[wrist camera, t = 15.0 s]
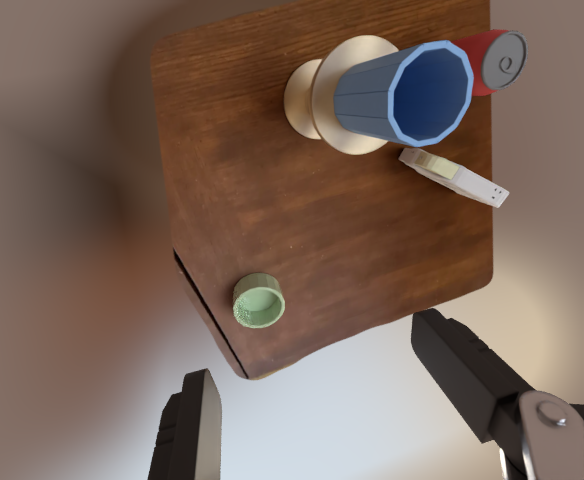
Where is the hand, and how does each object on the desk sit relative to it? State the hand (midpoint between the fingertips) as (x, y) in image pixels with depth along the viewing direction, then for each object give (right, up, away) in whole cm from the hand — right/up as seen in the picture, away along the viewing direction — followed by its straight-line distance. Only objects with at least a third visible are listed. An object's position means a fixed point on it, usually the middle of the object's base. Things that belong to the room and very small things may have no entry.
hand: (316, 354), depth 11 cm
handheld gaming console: (+23, +17, +37) cm, 47 cm away
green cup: (-7, -6, +41) cm, 42 cm away
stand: (+3, +24, +29) cm, 38 cm away
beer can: (+20, +29, +30) cm, 47 cm away
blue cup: (+6, +18, +16) cm, 24 cm away
